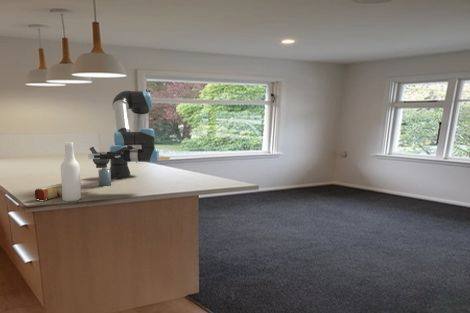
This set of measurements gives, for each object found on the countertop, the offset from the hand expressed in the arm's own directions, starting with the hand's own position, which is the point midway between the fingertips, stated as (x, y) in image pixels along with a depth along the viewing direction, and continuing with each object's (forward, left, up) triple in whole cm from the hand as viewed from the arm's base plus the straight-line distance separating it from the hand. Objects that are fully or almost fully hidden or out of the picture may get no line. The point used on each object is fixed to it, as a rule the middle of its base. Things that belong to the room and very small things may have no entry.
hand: (92, 155), depth 193 cm
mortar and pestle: (+3, +3, -7) cm, 8 cm away
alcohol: (+13, -16, -21) cm, 30 cm away
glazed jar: (-10, +11, -21) cm, 25 cm away
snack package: (0, -20, -21) cm, 29 cm away
